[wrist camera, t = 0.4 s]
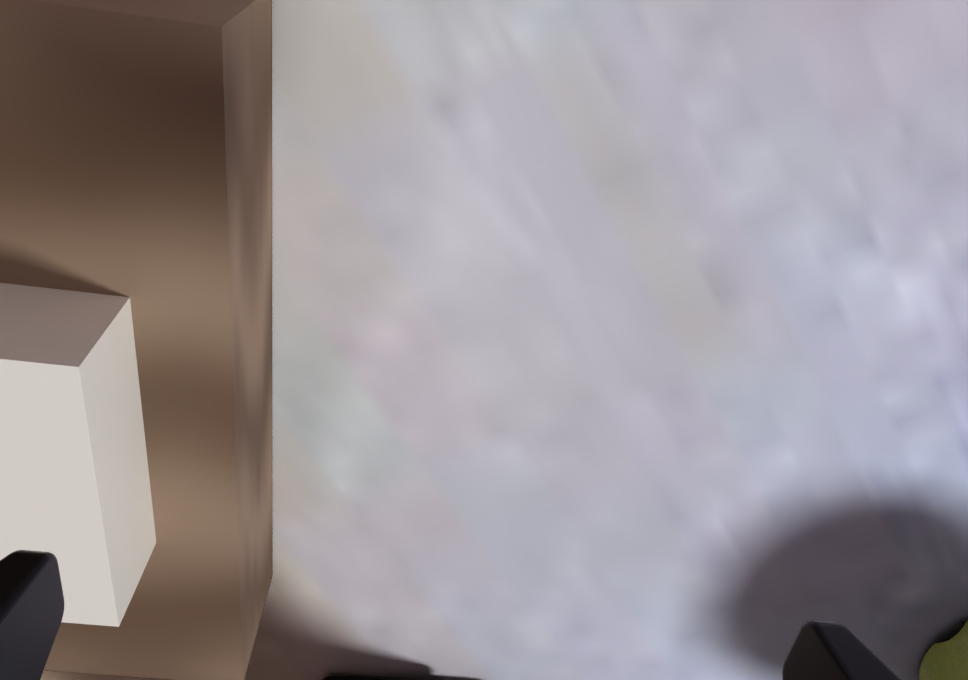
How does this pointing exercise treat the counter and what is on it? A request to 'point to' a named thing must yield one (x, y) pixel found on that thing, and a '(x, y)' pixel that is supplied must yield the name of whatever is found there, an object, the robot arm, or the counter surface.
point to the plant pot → (947, 659)
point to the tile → (74, 445)
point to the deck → (160, 286)
